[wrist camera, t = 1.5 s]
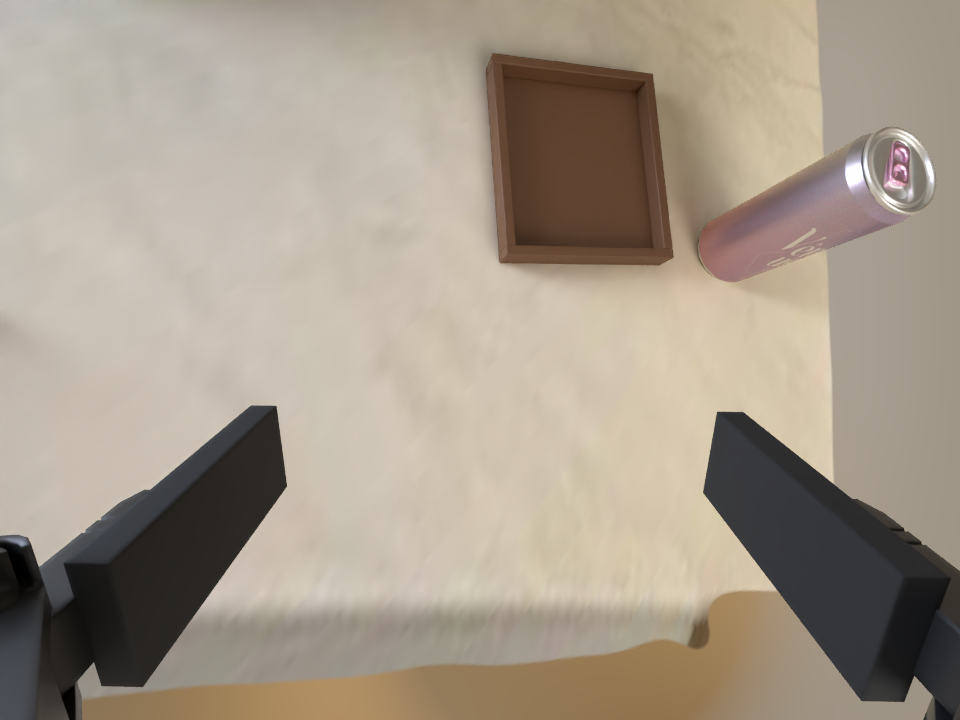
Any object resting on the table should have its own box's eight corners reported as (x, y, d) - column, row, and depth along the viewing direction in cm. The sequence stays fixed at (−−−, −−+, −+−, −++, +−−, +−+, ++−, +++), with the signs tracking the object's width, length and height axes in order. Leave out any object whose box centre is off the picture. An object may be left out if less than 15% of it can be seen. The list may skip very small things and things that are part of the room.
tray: (485, 70, 40) (491, 52, 38) (640, 88, 43) (653, 73, 42) (499, 263, 38) (507, 254, 36) (659, 265, 42) (674, 257, 40)
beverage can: (752, 232, 45) (941, 142, 30) (745, 291, 44) (937, 228, 29) (698, 212, 43) (867, 109, 29) (690, 273, 42) (861, 198, 28)
